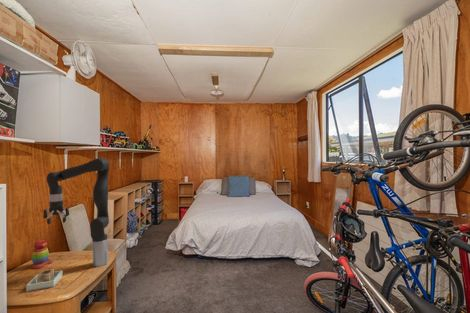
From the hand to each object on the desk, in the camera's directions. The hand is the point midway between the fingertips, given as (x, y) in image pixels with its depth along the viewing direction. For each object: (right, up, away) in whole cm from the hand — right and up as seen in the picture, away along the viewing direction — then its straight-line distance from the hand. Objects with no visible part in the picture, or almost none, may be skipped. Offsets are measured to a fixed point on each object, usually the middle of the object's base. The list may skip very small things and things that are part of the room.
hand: (56, 223), depth 158 cm
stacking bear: (-13, -31, +2) cm, 33 cm away
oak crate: (+10, -30, -22) cm, 38 cm away
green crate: (+10, -30, -22) cm, 39 cm away
